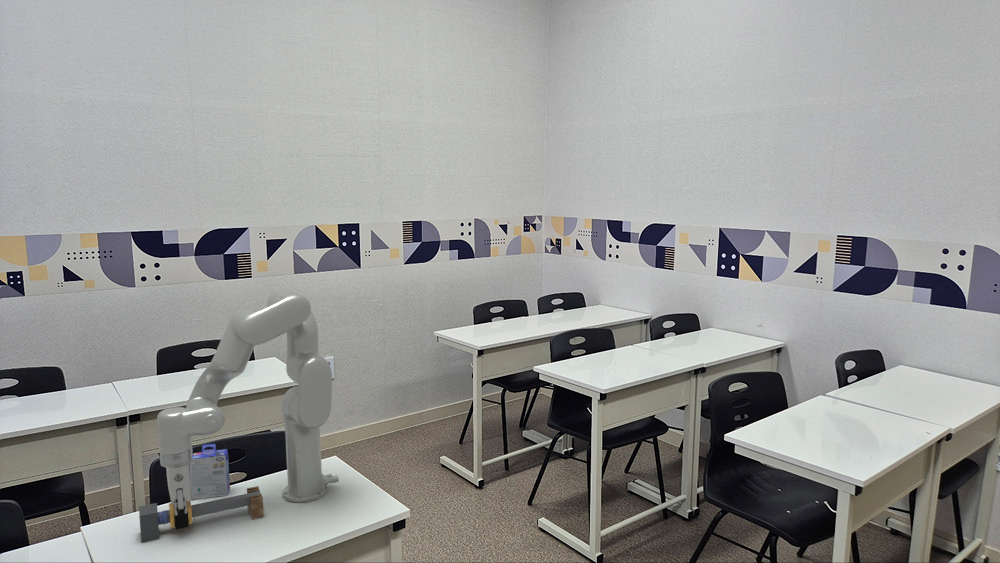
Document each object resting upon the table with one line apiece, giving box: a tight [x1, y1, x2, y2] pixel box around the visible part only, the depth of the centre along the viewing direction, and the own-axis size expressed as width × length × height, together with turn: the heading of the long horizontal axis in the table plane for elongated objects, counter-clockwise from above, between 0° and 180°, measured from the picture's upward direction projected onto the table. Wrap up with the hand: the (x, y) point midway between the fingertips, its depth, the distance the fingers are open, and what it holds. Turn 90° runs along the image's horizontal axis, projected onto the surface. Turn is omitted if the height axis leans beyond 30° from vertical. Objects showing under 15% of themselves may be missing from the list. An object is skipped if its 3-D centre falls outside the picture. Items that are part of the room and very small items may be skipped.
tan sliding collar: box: [168, 500, 193, 529], centre depth 169 cm, size 5×5×4 cm
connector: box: [138, 502, 163, 544], centre depth 166 cm, size 5×6×7 cm
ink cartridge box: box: [189, 443, 231, 501], centre depth 188 cm, size 10×6×14 cm, turn 108°
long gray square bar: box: [158, 491, 262, 526], centre depth 172 cm, size 27×3×3 cm, turn 119°
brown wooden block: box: [246, 485, 265, 520], centre depth 178 cm, size 3×8×6 cm, turn 29°
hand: (181, 522), depth 169 cm, fingers closed on tan sliding collar, 5 cm apart
